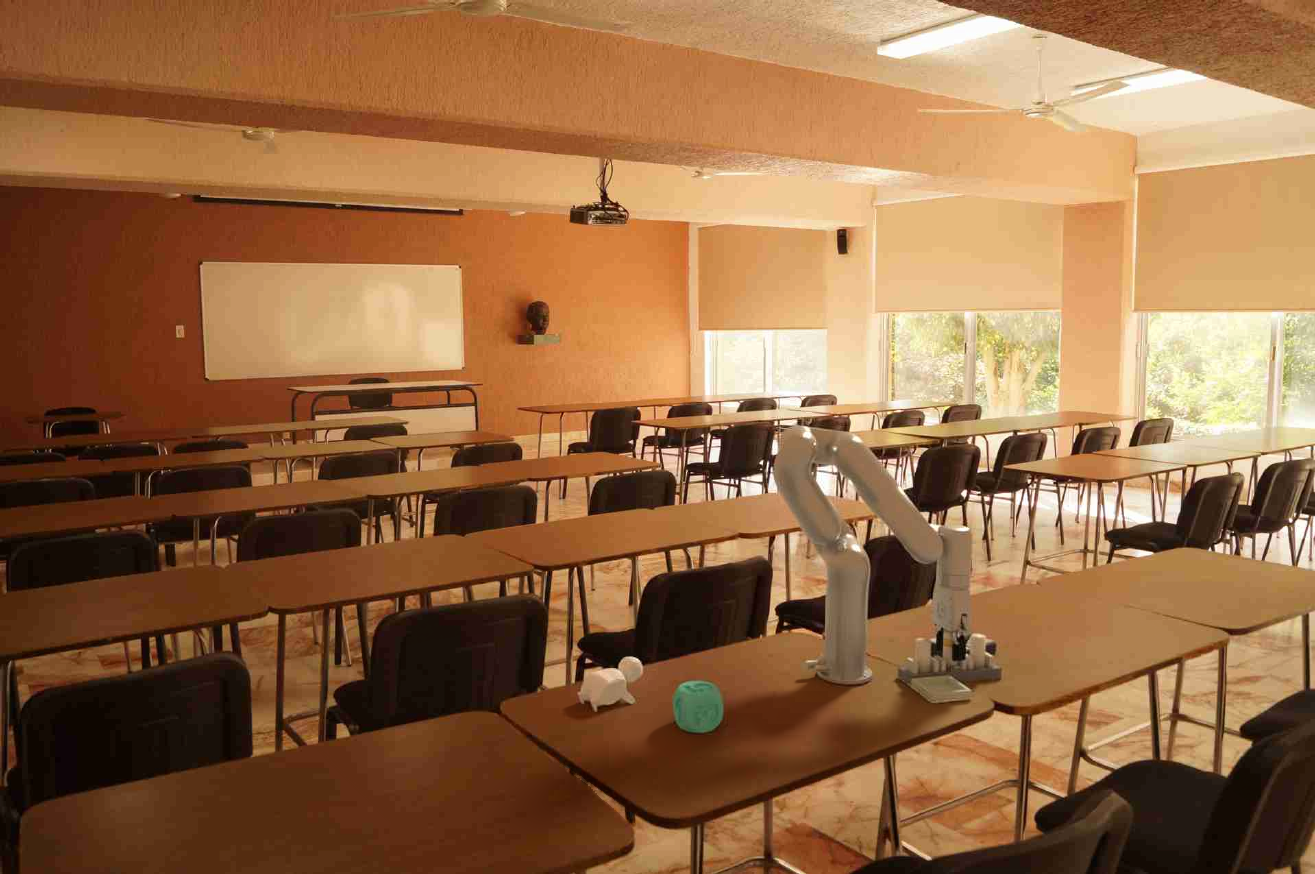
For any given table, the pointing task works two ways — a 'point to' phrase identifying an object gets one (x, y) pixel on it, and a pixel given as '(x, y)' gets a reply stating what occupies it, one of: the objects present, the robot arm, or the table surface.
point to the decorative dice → (697, 706)
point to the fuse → (948, 649)
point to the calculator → (989, 647)
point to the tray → (940, 688)
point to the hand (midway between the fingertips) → (950, 654)
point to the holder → (967, 670)
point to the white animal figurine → (611, 683)
